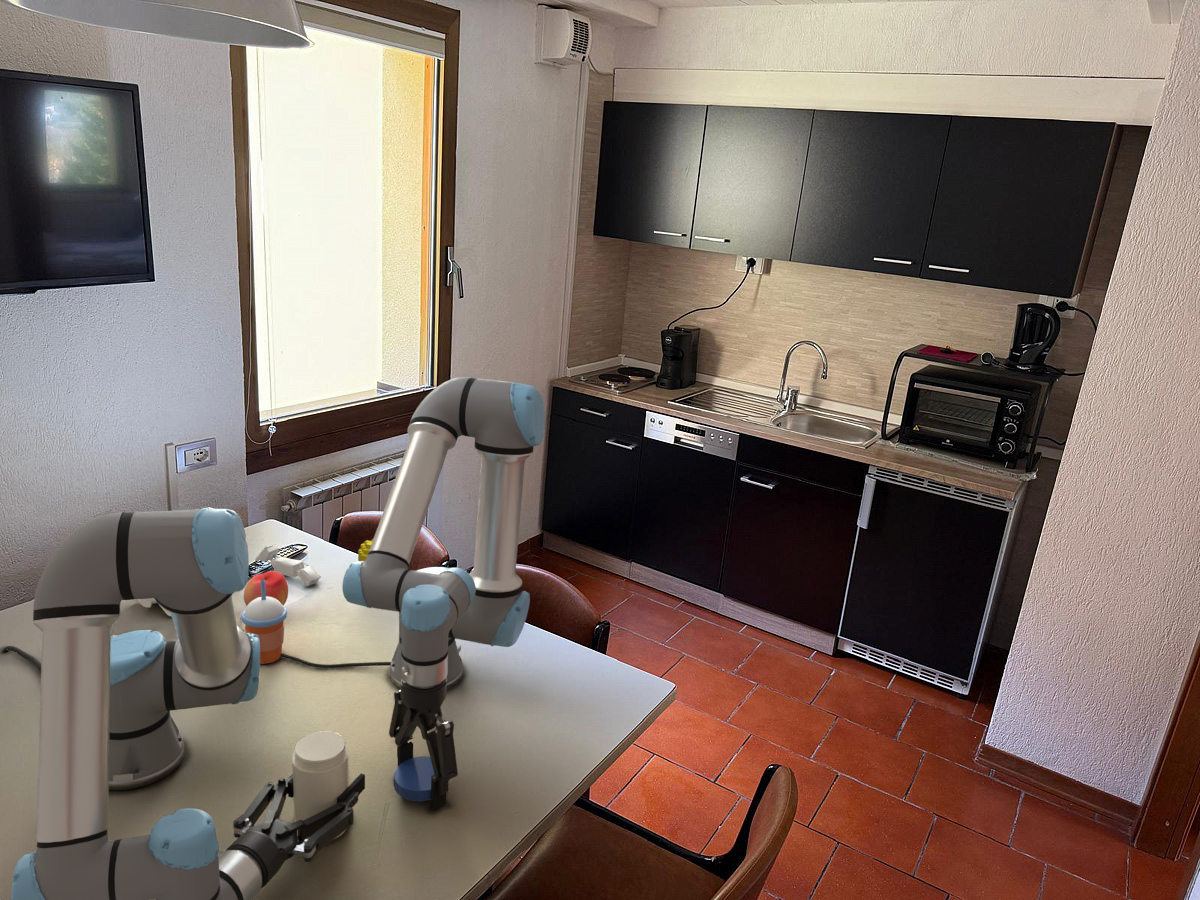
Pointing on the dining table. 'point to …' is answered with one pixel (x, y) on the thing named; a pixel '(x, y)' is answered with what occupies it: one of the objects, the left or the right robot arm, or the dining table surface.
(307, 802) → the jar
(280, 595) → the apple
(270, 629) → the cup with straw
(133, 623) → the dining table surface
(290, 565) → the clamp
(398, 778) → the lid
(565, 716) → the dining table surface
